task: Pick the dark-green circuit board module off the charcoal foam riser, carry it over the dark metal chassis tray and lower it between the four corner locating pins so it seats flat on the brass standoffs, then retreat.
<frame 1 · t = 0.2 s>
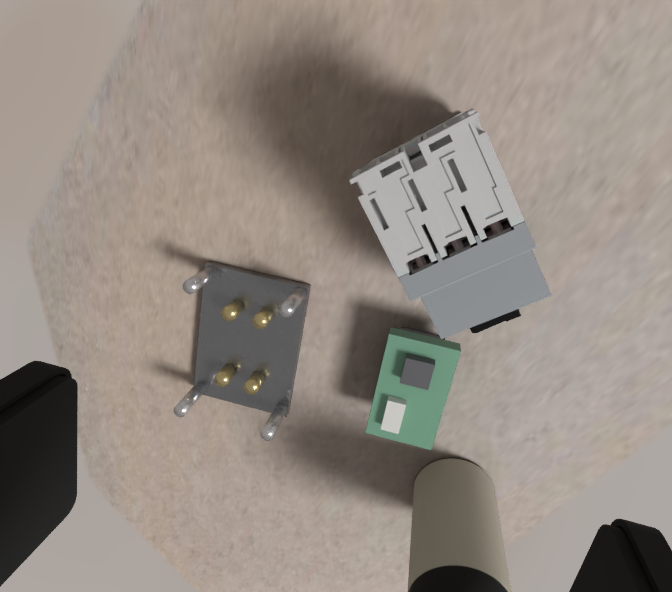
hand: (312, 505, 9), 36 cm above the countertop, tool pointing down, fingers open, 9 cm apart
chassis: (250, 339, 50), on the countertop
circuit breaker: (454, 214, 42), on the countertop
board: (411, 385, 45), point 3 cm above the countertop, touching riser
travel mug: (453, 488, 51), on the countertop
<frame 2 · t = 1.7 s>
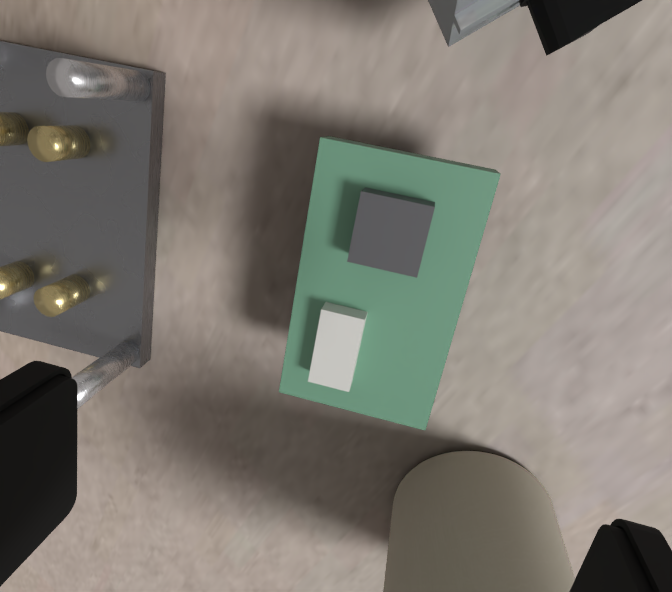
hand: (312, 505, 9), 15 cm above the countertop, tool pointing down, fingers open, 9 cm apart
chassis: (61, 208, 25), on the countertop
board: (381, 283, 20), point 3 cm above the countertop, touching riser
travel mug: (470, 509, 26), on the countertop
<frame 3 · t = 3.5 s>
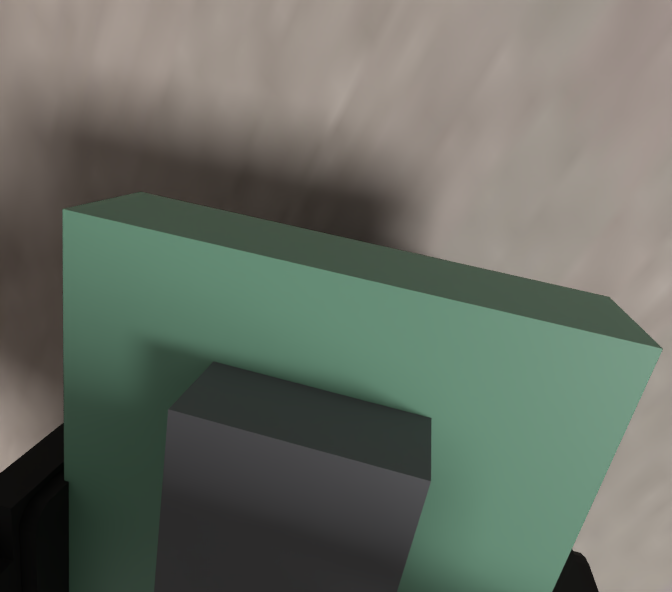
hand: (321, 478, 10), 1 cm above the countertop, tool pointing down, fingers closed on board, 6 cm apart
board: (300, 542, 8), point 3 cm above the countertop, touching gripper, riser
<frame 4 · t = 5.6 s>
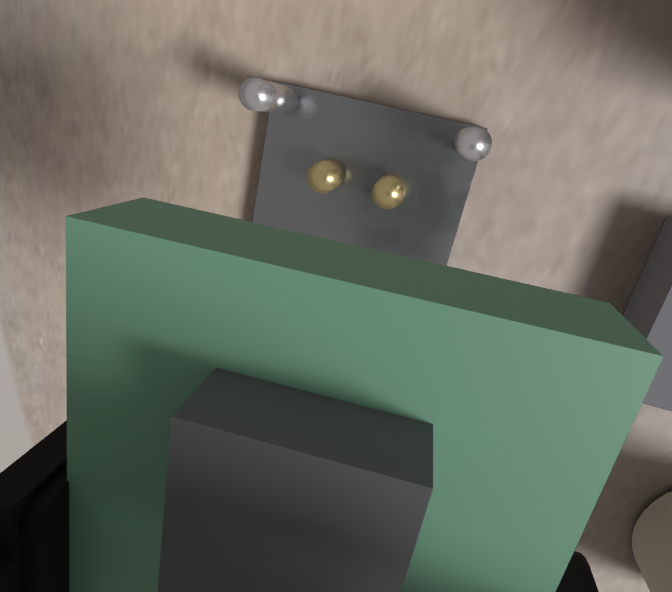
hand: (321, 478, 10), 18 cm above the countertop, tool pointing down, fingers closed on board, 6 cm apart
chassis: (348, 245, 26), on the countertop
board: (301, 546, 8), point 19 cm above the countertop, touching gripper
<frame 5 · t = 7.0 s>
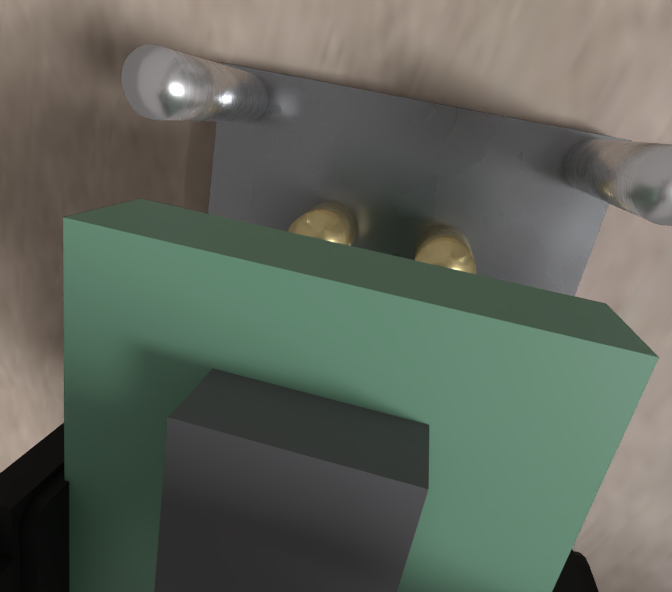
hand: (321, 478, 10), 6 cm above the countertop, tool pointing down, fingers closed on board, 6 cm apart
chassis: (364, 342, 15), on the countertop
board: (299, 546, 8), point 8 cm above the countertop, touching gripper
when the fingers open (3 cm above the countertop, at t = 8.0 s): board drops 2 cm, resting on chassis.
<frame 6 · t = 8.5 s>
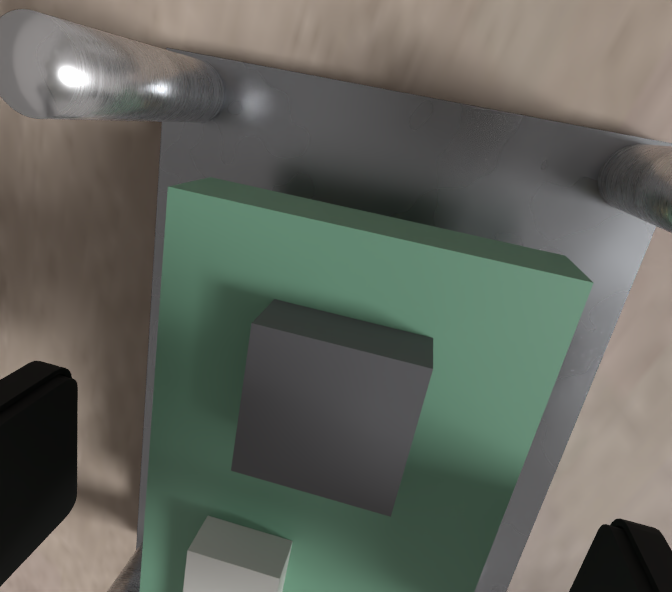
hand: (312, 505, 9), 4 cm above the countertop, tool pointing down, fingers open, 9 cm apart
chassis: (350, 387, 13), on the countertop
board: (327, 459, 10), point 3 cm above the countertop, touching chassis
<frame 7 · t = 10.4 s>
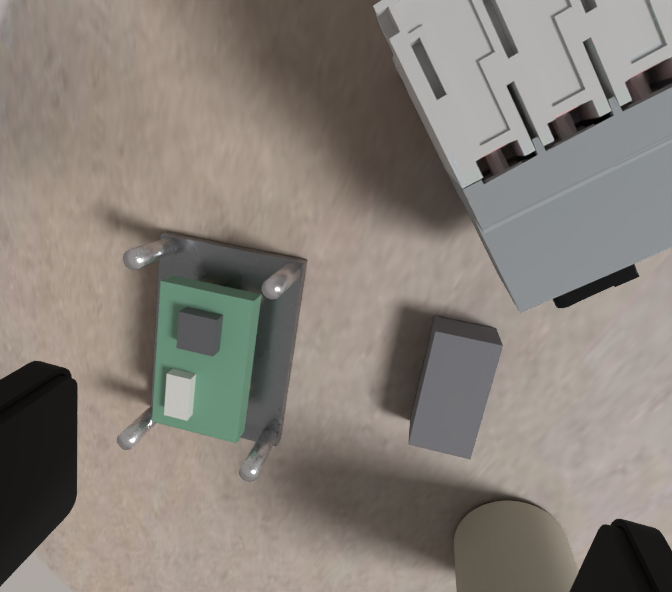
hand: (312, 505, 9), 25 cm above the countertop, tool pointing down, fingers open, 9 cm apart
chassis: (226, 339, 36), on the countertop
riser: (451, 376, 34), on the countertop
circuit breaker: (509, 149, 30), on the countertop
board: (209, 355, 33), point 3 cm above the countertop, touching chassis
travel mug: (508, 541, 37), on the countertop
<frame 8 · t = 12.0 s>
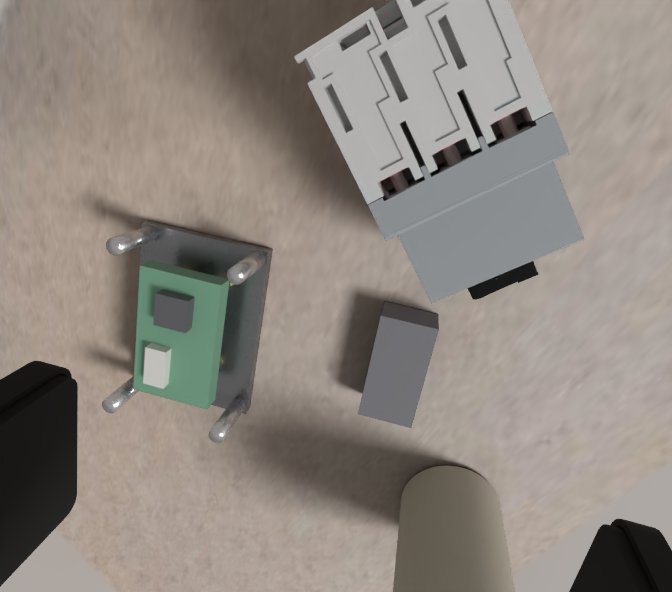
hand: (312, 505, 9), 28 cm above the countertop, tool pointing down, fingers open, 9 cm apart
chassis: (201, 318, 41), on the countertop
riser: (399, 355, 38), on the countertop
circuit breaker: (449, 155, 34), on the countertop
board: (184, 332, 38), point 3 cm above the countertop, touching chassis
travel mug: (449, 501, 42), on the countertop
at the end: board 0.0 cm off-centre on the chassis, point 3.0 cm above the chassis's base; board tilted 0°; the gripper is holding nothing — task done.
